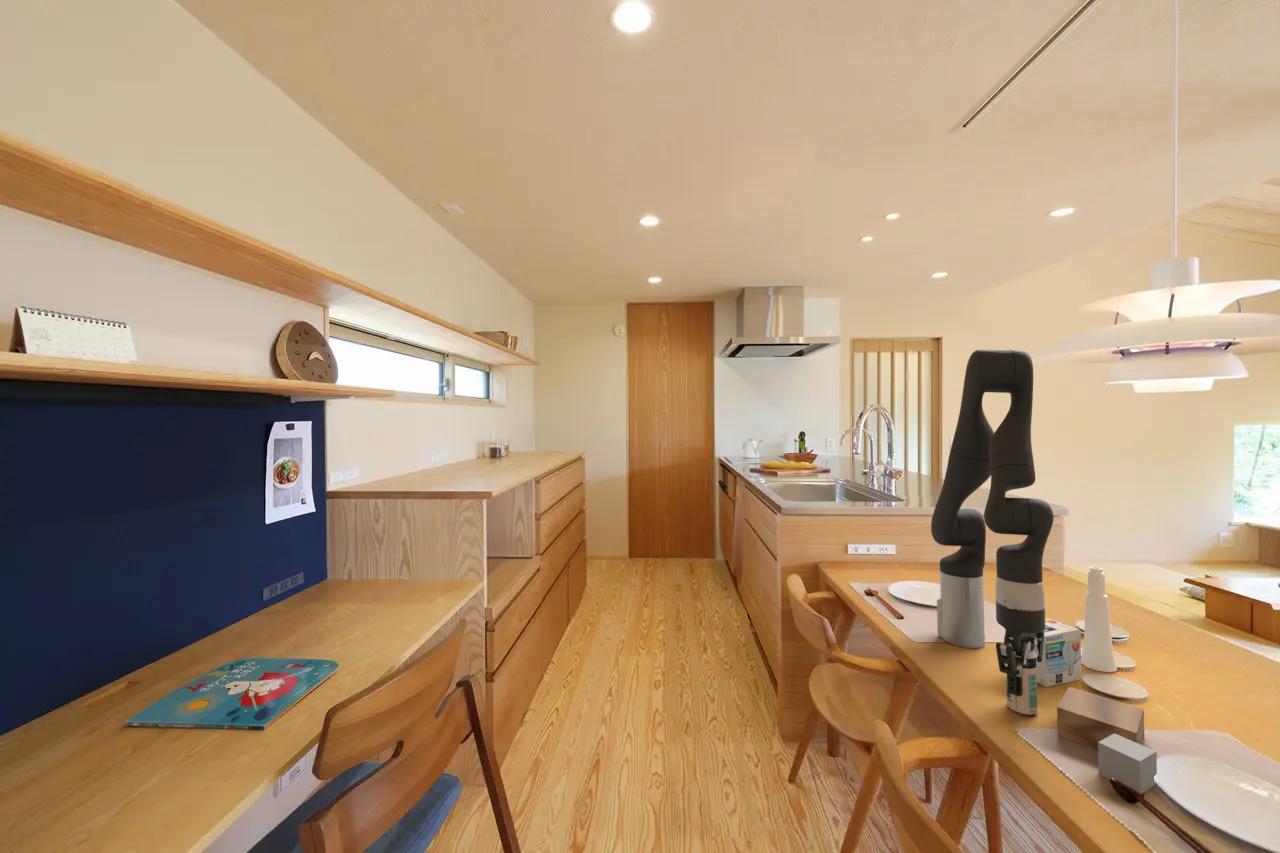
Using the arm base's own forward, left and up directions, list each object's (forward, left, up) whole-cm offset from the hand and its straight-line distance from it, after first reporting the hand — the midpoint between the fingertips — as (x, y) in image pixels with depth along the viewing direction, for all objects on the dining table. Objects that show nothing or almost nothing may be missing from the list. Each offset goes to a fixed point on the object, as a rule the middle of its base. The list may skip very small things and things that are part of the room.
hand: (1021, 689), depth 96 cm
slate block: (+17, -7, -4) cm, 19 cm away
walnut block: (+11, +2, -4) cm, 12 cm away
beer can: (0, 0, -4) cm, 4 cm away
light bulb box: (-3, +19, -4) cm, 20 cm away
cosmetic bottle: (+1, +33, -4) cm, 33 cm away
